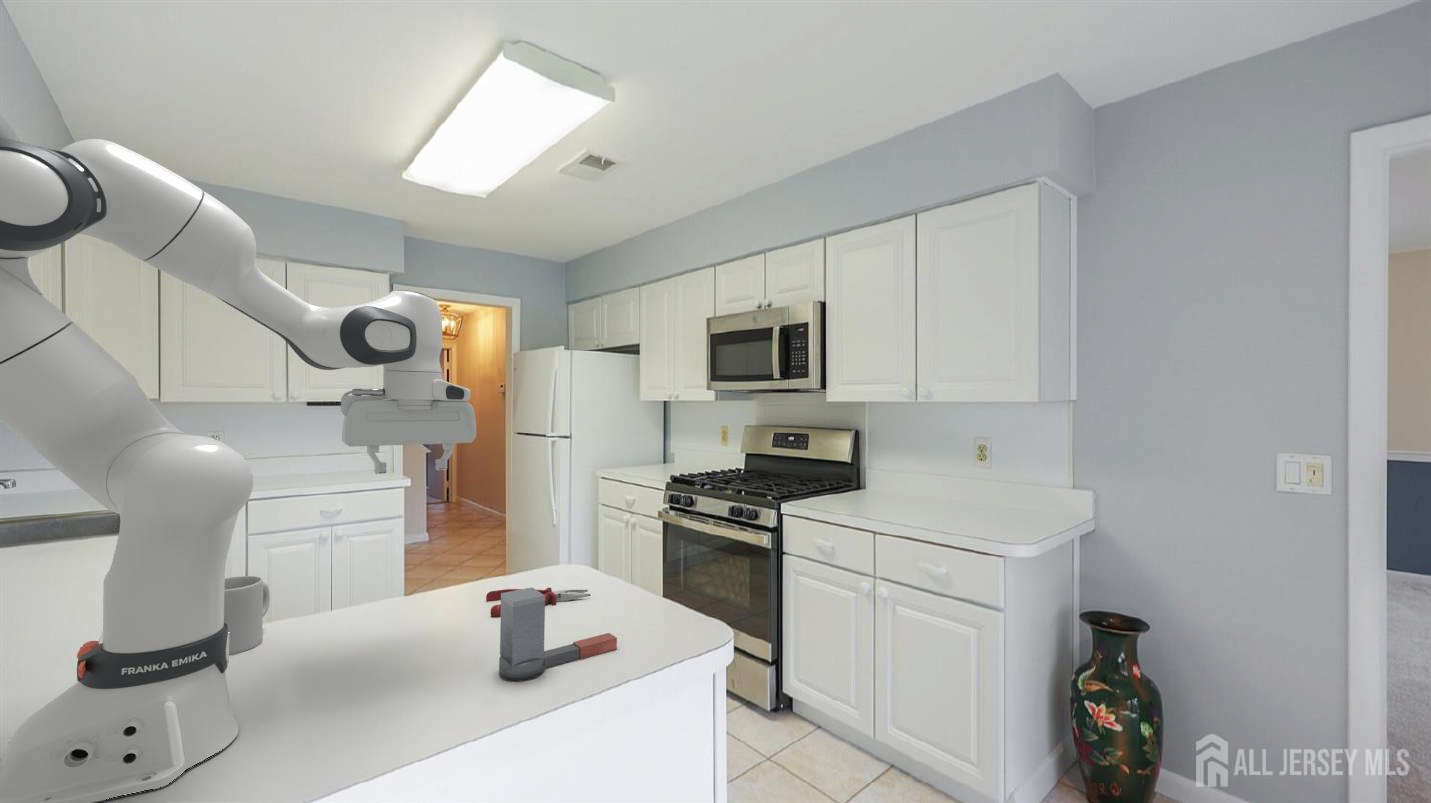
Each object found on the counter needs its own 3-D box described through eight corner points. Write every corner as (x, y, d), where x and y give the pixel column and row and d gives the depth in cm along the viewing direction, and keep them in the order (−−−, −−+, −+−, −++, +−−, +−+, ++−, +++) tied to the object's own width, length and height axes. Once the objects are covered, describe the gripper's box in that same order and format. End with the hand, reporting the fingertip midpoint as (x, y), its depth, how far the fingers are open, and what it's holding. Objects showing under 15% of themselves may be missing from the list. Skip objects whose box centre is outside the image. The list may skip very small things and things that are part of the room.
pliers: (595, 606, 130) (596, 594, 130) (490, 621, 121) (490, 607, 121) (583, 590, 141) (583, 578, 141) (485, 602, 132) (485, 589, 132)
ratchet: (508, 685, 93) (509, 649, 93) (492, 669, 99) (493, 634, 99) (622, 653, 106) (623, 620, 106) (603, 640, 111) (603, 609, 111)
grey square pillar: (511, 666, 94) (513, 602, 94) (500, 654, 99) (501, 593, 98) (543, 657, 98) (545, 595, 98) (531, 647, 102) (532, 587, 102)
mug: (235, 657, 101) (236, 591, 101) (185, 655, 101) (186, 589, 101) (288, 630, 113) (289, 570, 113) (244, 628, 113) (245, 569, 113)
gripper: (344, 388, 94) (343, 478, 94) (480, 390, 107) (478, 469, 107) (338, 388, 99) (336, 473, 99) (468, 390, 112) (467, 466, 112)
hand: (411, 471), depth 103 cm, fingers open, 8 cm apart
